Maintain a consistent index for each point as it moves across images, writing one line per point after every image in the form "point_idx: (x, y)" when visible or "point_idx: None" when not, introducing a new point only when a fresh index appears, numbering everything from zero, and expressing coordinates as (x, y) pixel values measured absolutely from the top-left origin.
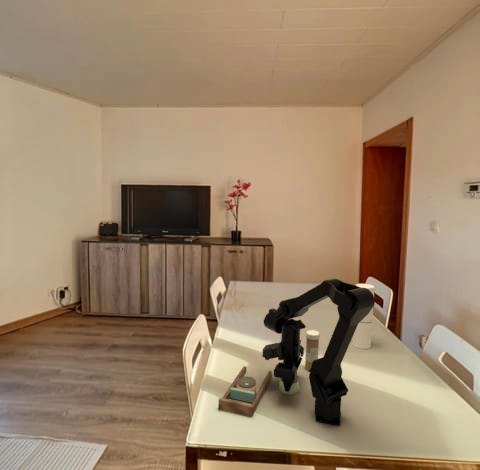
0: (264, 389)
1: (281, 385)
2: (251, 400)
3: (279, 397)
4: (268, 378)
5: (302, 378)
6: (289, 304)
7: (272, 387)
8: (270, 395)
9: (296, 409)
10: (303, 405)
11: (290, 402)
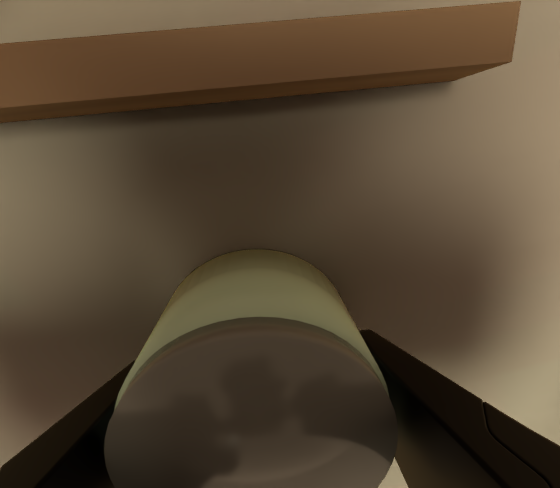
0: (62, 113)
1: (152, 332)
2: None
3: (79, 302)
4: (283, 84)
5: (479, 370)
6: None
7: (212, 178)
8: (48, 212)
9: (15, 453)
10: None
11: (72, 397)
